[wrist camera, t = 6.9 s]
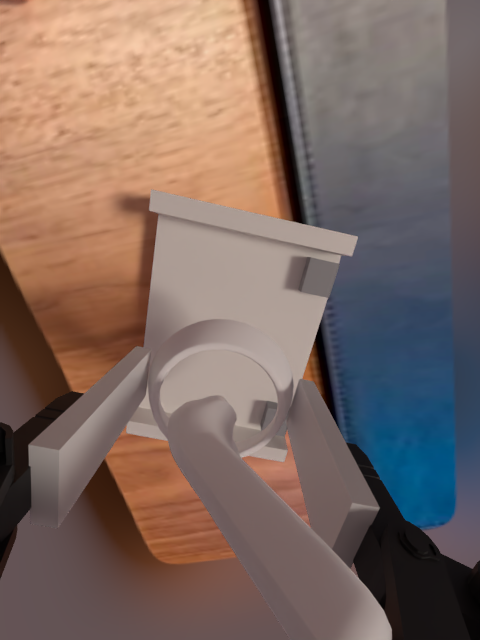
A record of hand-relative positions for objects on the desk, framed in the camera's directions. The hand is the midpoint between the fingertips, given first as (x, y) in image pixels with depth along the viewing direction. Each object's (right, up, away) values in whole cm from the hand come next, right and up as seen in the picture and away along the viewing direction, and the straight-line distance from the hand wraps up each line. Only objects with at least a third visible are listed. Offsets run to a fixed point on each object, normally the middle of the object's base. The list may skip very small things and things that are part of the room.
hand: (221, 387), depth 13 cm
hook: (0, 0, +1) cm, 1 cm away
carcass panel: (0, +2, +8) cm, 8 cm away
